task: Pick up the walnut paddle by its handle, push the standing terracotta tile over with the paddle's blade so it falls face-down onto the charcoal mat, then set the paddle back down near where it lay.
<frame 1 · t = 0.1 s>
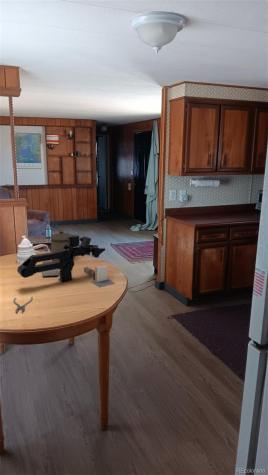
hand: (101, 247, 219), 17 cm above the table, tool horizontal, fingers open, 9 cm apart
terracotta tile: (101, 280, 208), resting on charcoal mat
charcoal mat: (102, 283, 204), on the table
wooden container: (62, 260, 249), on the table
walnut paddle: (91, 275, 217), on the table
pliers: (24, 305, 175), on the table
stone slab: (50, 270, 228), on the table
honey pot: (26, 261, 246), on the table
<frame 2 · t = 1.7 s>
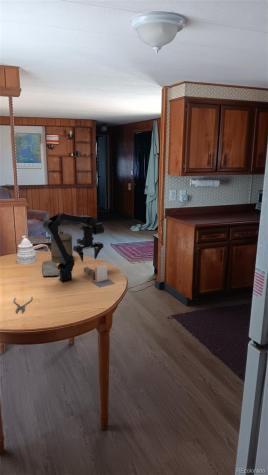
hand: (88, 260, 217), 9 cm above the table, tool pointing down, fingers open, 9 cm apart
nothing on the table moved.
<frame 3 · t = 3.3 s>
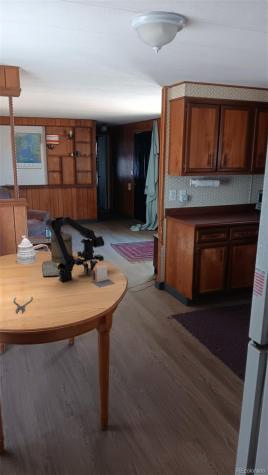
hand: (89, 272, 219), 1 cm above the table, tool pointing down, fingers closed on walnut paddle, 3 cm apart
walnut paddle: (91, 275, 217), on the table, touching gripper
everything else where it was.
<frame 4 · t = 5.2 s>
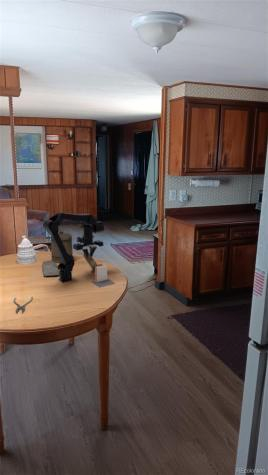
hand: (88, 258, 217), 11 cm above the table, tool pointing down, fingers closed on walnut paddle, 2 cm apart
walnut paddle: (90, 263, 216), point 8 cm above the table, tilted 26°, touching gripper
everything else where it was.
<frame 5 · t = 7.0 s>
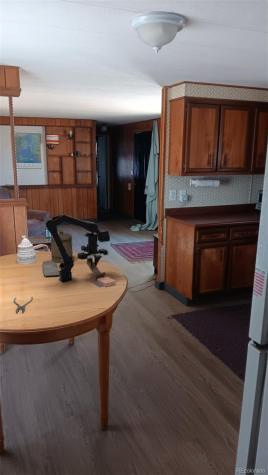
hand: (93, 267, 214), 6 cm above the table, tool pointing down, fingers closed on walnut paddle, 3 cm apart
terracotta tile: (102, 279, 206), point 2 cm above the table, tilted 90°, touching charcoal mat
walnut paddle: (93, 270, 215), point 4 cm above the table, tilted 27°, touching charcoal mat, gripper
everything else where it was.
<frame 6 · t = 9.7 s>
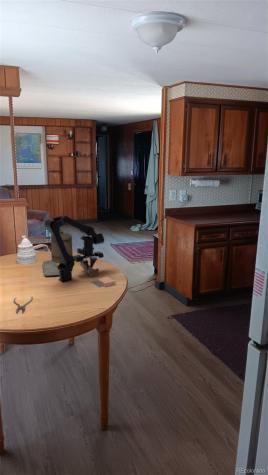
hand: (89, 269, 219), 3 cm above the table, tool pointing down, fingers closed on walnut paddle, 2 cm apart
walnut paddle: (87, 270, 221), point 2 cm above the table, tilted 13°, touching gripper
everything else where it was.
when the fingers open (3 cm above the table, at t = 10.2 s): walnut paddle drops 2 cm, on the table.
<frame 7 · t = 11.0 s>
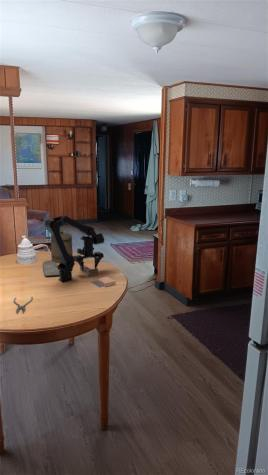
hand: (89, 269, 219), 3 cm above the table, tool pointing down, fingers open, 9 cm apart
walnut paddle: (87, 273, 222), on the table
everything else where it was.
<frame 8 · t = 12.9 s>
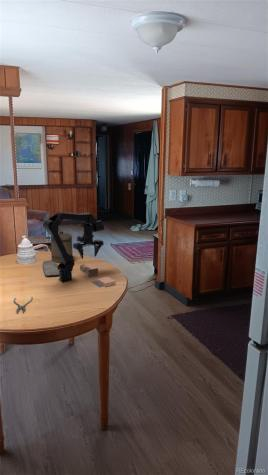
hand: (88, 257, 217), 11 cm above the table, tool pointing down, fingers open, 9 cm apart
nothing on the table moved.
at the end: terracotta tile tilted 90°; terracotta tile inside the target area (0.3 cm from its centre), point 1.6 cm above the table; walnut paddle inside the target area (3.5 cm from its centre), on the table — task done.
